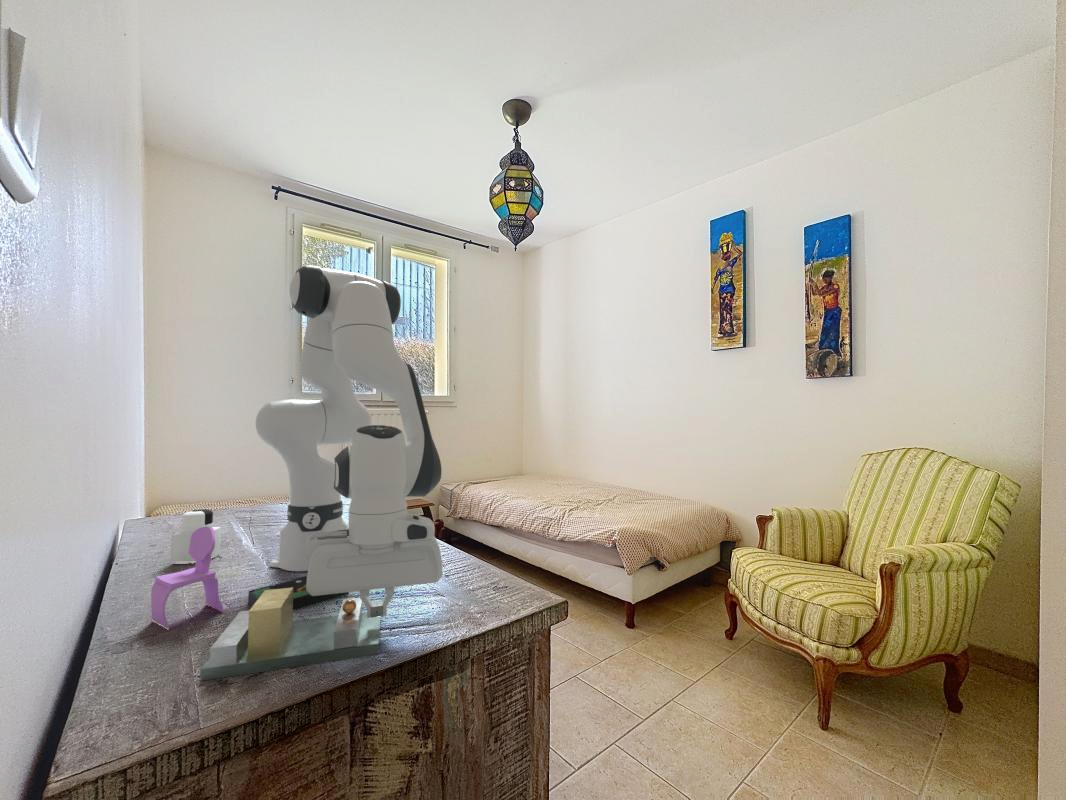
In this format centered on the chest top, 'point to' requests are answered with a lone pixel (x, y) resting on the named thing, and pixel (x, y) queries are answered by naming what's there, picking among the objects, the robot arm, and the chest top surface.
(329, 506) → the robot arm
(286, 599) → the brass block
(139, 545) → the chest top surface
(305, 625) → the vise
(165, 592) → the toy chair
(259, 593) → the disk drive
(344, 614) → the sliding jaw
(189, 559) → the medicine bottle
